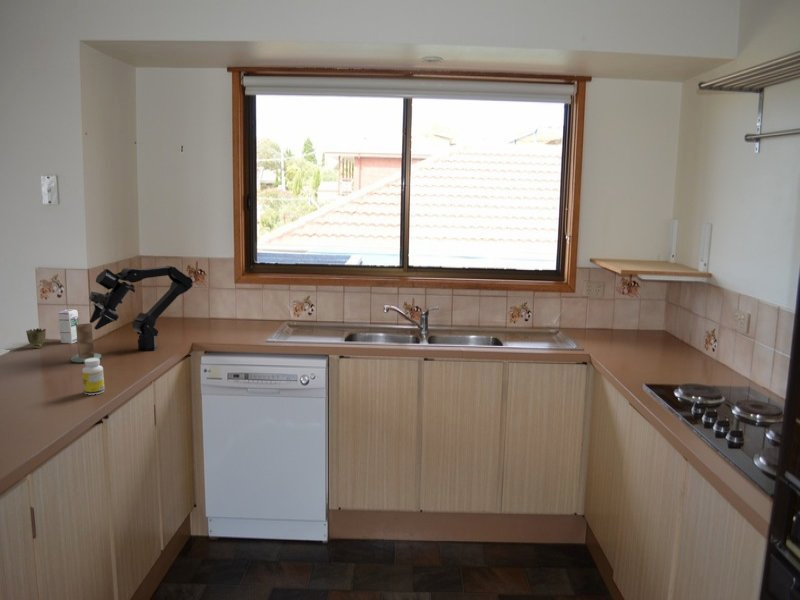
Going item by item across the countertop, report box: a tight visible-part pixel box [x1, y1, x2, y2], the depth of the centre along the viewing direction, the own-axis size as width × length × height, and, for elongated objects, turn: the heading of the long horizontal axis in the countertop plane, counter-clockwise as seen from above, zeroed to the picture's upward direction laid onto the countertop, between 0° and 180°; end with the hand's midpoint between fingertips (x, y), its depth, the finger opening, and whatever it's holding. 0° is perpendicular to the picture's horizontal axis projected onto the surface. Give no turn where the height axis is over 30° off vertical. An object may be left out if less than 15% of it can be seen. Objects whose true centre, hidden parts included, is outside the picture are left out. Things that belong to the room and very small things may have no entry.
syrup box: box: [57, 308, 80, 345], centre depth 298 cm, size 6×6×14 cm
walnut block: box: [76, 322, 95, 359], centre depth 268 cm, size 5×5×13 cm
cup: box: [25, 327, 47, 349], centre depth 288 cm, size 8×7×8 cm
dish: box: [70, 352, 102, 364], centre depth 269 cm, size 11×11×1 cm
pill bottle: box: [82, 358, 106, 396], centre depth 227 cm, size 6×6×12 cm
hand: (93, 325), depth 272 cm, fingers open, 9 cm apart
